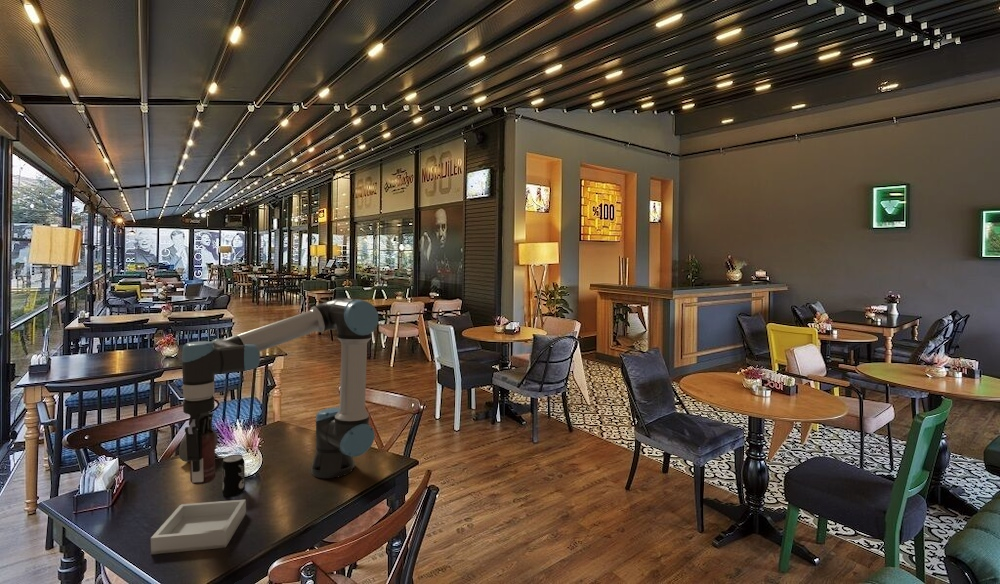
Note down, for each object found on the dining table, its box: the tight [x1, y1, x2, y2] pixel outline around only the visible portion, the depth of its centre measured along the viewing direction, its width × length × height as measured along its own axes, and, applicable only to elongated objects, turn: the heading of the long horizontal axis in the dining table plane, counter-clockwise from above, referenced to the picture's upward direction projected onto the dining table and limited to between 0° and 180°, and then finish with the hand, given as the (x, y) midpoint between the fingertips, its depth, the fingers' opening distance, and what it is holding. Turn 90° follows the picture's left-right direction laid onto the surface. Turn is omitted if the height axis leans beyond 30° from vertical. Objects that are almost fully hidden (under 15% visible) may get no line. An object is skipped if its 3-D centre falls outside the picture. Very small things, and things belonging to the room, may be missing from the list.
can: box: [189, 430, 216, 485], centre depth 139 cm, size 6×6×14 cm
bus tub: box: [150, 499, 247, 555], centre depth 139 cm, size 18×18×4 cm
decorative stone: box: [178, 427, 219, 463], centre depth 190 cm, size 15×10×15 cm
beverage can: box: [221, 454, 246, 498], centre depth 163 cm, size 7×7×12 cm
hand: (200, 478), depth 138 cm, fingers open, 3 cm apart
